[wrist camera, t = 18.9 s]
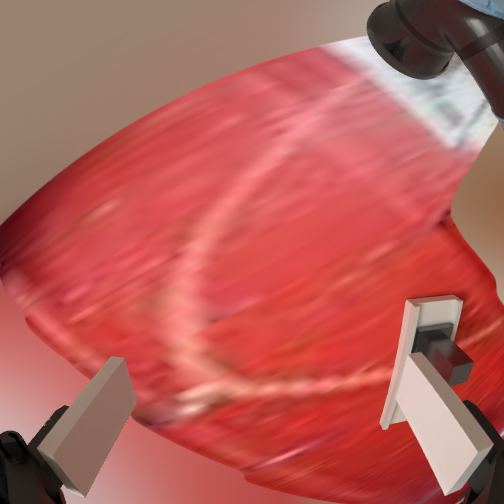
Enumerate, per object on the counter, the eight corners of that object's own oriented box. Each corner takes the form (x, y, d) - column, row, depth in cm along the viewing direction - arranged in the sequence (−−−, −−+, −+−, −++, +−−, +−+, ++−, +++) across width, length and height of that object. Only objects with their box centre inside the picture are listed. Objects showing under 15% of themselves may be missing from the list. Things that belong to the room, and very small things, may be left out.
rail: (406, 299, 40) (414, 306, 37) (453, 294, 40) (463, 301, 37) (378, 419, 46) (382, 429, 43) (420, 410, 45) (426, 419, 42)
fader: (416, 327, 39) (448, 361, 29) (449, 322, 39) (483, 352, 28) (408, 359, 40) (435, 396, 30) (441, 353, 40) (471, 386, 30)
